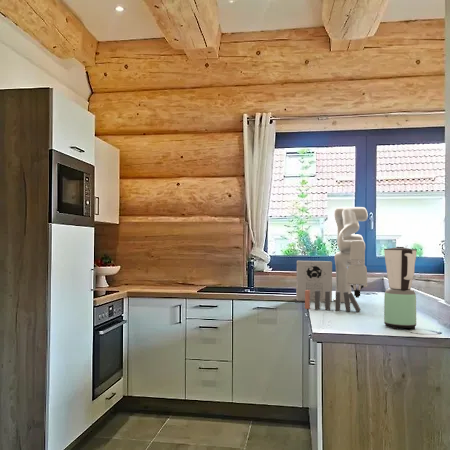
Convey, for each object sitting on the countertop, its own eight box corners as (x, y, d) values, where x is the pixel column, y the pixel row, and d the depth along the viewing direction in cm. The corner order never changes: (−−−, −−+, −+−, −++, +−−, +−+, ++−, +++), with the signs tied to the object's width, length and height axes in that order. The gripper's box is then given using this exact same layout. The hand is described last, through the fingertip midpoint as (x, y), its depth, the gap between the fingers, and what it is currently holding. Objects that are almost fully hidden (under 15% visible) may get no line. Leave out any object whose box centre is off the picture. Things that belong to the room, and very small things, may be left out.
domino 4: (336, 309, 250) (336, 291, 250) (340, 309, 249) (340, 291, 249) (335, 310, 245) (335, 292, 245) (339, 311, 244) (339, 292, 245)
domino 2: (316, 308, 253) (316, 290, 254) (319, 308, 253) (320, 290, 253) (314, 309, 249) (315, 291, 249) (318, 309, 248) (318, 291, 248)
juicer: (376, 324, 205) (377, 246, 207) (405, 324, 207) (405, 247, 208) (396, 332, 187) (396, 246, 188) (427, 332, 188) (427, 247, 189)
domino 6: (357, 311, 246) (348, 294, 248) (360, 309, 245) (351, 292, 247) (356, 312, 241) (347, 295, 243) (360, 310, 241) (351, 293, 243)
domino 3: (326, 309, 252) (326, 290, 252) (330, 309, 251) (330, 291, 251) (325, 310, 247) (325, 291, 247) (328, 310, 246) (329, 291, 247)
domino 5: (346, 310, 248) (344, 291, 249) (350, 310, 247) (348, 291, 248) (346, 311, 243) (343, 292, 244) (349, 311, 242) (347, 292, 243)
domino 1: (306, 307, 255) (306, 289, 256) (309, 307, 255) (310, 289, 255) (304, 308, 251) (305, 290, 251) (308, 309, 250) (308, 290, 250)
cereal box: (330, 300, 292) (330, 261, 293) (331, 301, 284) (332, 261, 285) (296, 299, 294) (296, 260, 295) (296, 300, 286) (297, 261, 287)
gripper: (342, 262, 244) (342, 297, 243) (371, 263, 239) (371, 299, 238) (343, 262, 251) (343, 296, 250) (372, 263, 246) (372, 297, 245)
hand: (357, 297), depth 244 cm, fingers closed
